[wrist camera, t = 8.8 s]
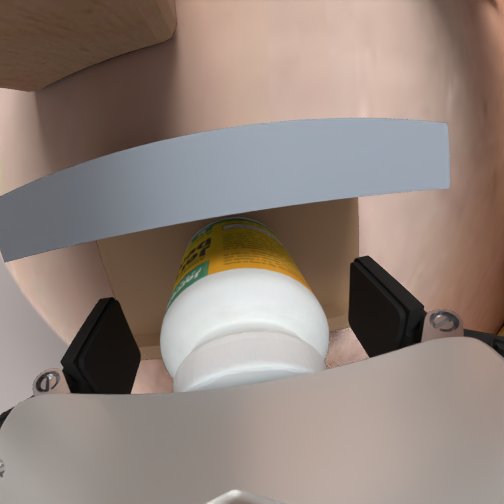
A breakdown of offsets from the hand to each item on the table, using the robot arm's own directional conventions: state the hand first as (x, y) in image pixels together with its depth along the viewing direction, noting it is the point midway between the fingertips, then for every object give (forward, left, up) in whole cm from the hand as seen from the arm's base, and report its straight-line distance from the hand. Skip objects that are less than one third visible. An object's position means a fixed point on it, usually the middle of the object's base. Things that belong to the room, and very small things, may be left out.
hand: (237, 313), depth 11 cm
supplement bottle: (0, 0, -4) cm, 5 cm away
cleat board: (0, -1, -6) cm, 6 cm away
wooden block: (+6, -17, -7) cm, 20 cm away
